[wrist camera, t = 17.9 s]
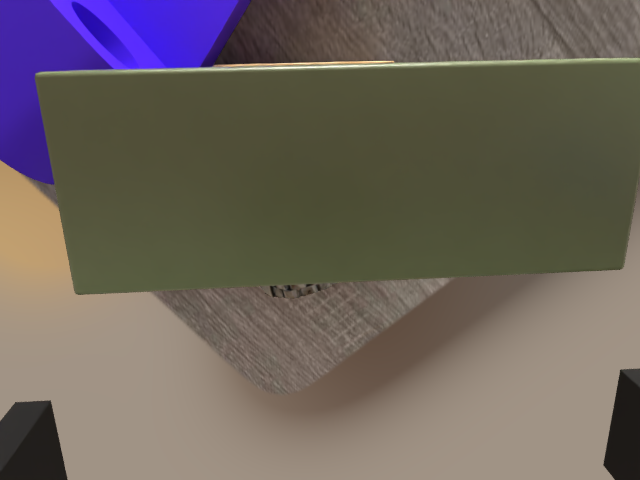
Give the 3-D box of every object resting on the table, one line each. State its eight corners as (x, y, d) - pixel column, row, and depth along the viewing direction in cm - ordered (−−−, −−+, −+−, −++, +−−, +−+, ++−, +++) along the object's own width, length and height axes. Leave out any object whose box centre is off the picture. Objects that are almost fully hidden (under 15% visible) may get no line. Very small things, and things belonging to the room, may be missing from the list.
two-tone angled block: (376, 244, 30) (564, 611, 10) (236, 250, 30) (139, 647, 10) (378, 60, 27) (663, 56, 7) (222, 64, 27) (30, 72, 6)
